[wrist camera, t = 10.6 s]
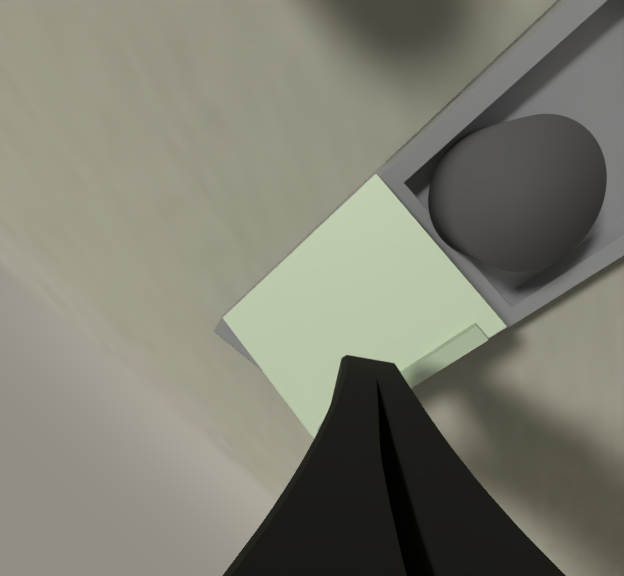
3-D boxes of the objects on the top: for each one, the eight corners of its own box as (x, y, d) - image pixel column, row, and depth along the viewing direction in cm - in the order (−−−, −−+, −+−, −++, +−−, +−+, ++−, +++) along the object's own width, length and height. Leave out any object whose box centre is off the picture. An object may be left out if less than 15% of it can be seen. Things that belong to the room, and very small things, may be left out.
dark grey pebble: (577, 182, 14) (636, 183, 12) (487, 279, 15) (525, 299, 13) (493, 94, 13) (540, 75, 11) (402, 206, 14) (426, 211, 12)
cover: (503, 320, 13) (509, 330, 12) (324, 435, 16) (315, 451, 15) (379, 176, 14) (373, 171, 12) (232, 313, 17) (215, 320, 16)
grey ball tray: (731, 156, 14) (786, 162, 12) (339, 413, 21) (339, 439, 19) (619, -58, 11) (667, -89, 10) (223, 315, 19) (210, 336, 17)
